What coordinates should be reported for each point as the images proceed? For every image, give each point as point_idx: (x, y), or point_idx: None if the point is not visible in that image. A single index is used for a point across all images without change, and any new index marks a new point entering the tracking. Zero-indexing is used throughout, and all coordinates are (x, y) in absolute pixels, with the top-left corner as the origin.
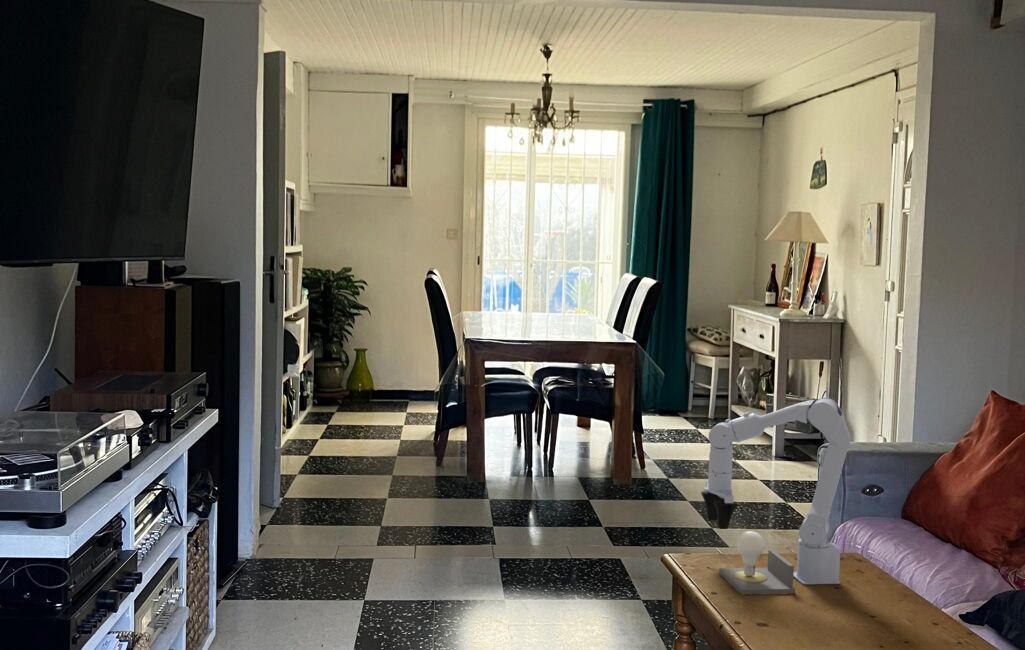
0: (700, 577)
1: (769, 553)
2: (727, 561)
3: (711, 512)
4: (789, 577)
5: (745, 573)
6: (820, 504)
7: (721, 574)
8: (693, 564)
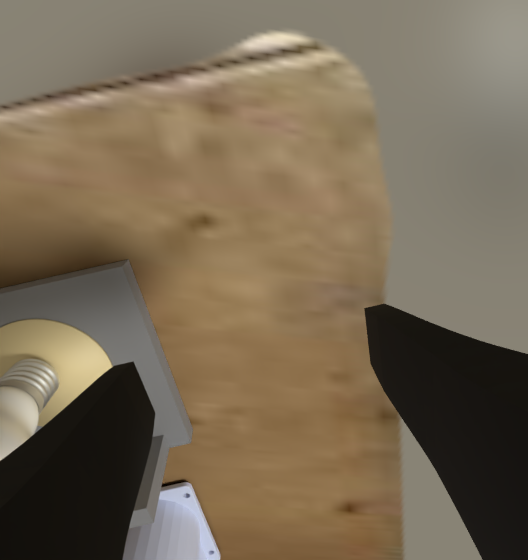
0: (38, 168)
1: (137, 498)
2: (297, 308)
3: (398, 362)
4: None
5: (11, 367)
6: None
7: (97, 267)
8: (230, 155)
